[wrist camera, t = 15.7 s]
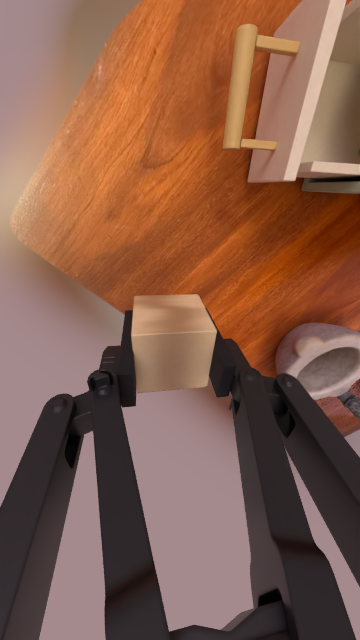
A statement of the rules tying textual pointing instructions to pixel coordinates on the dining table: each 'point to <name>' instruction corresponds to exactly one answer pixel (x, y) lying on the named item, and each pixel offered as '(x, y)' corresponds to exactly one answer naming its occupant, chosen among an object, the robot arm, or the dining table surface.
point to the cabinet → (331, 185)
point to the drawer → (301, 95)
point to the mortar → (320, 358)
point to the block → (171, 342)
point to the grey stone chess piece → (351, 402)
